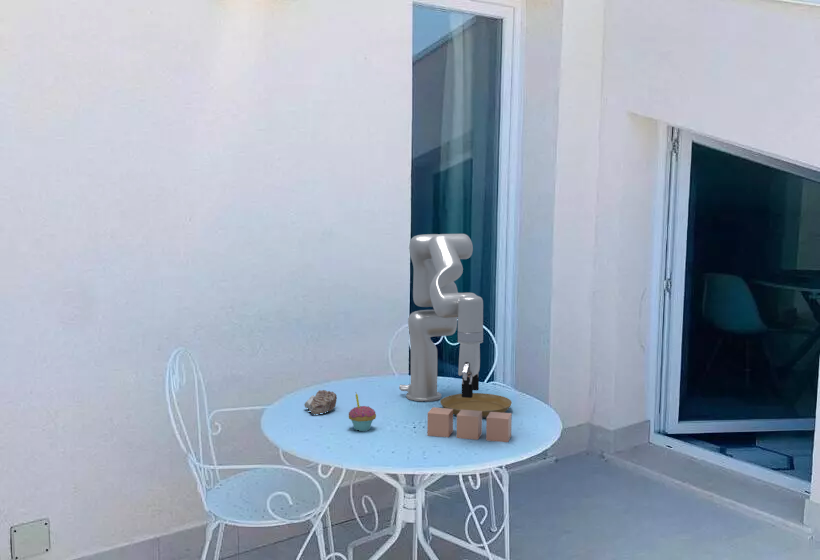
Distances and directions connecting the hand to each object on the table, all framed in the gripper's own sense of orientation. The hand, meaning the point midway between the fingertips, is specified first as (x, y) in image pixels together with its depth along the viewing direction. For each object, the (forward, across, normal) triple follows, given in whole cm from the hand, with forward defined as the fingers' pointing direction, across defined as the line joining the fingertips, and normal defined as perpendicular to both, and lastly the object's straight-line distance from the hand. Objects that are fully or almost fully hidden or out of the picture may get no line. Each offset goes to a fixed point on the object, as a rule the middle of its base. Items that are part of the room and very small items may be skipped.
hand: (470, 393), depth 237 cm
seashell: (+13, -15, -54) cm, 58 cm away
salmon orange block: (+13, -1, +9) cm, 16 cm away
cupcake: (+13, +1, -34) cm, 36 cm away
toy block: (+13, -1, 0) cm, 13 cm away
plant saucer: (+13, -30, -4) cm, 33 cm away
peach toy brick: (+13, -1, -9) cm, 16 cm away
